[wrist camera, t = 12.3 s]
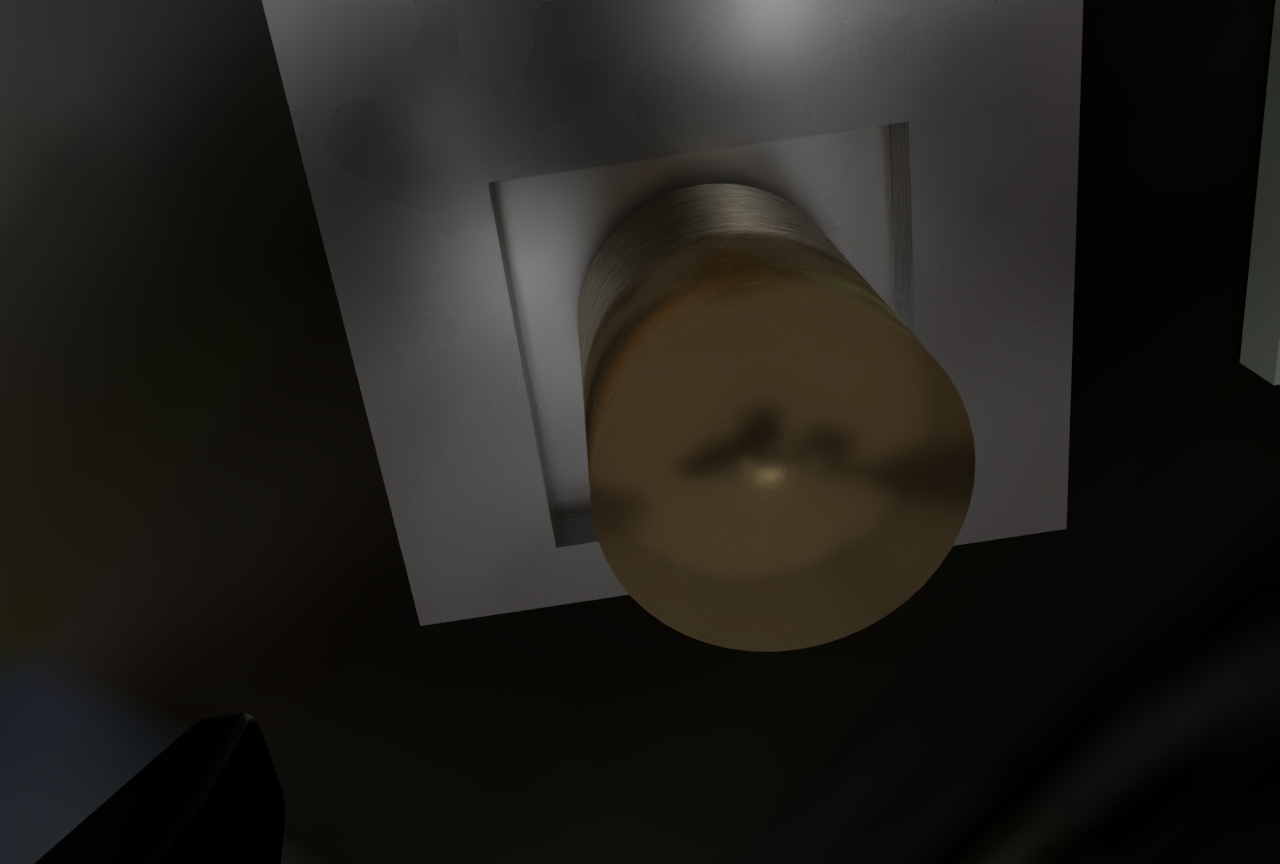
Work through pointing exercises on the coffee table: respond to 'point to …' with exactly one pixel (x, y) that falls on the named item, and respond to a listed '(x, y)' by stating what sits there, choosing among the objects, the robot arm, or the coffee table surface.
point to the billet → (761, 426)
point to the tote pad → (1266, 238)
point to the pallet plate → (641, 172)
